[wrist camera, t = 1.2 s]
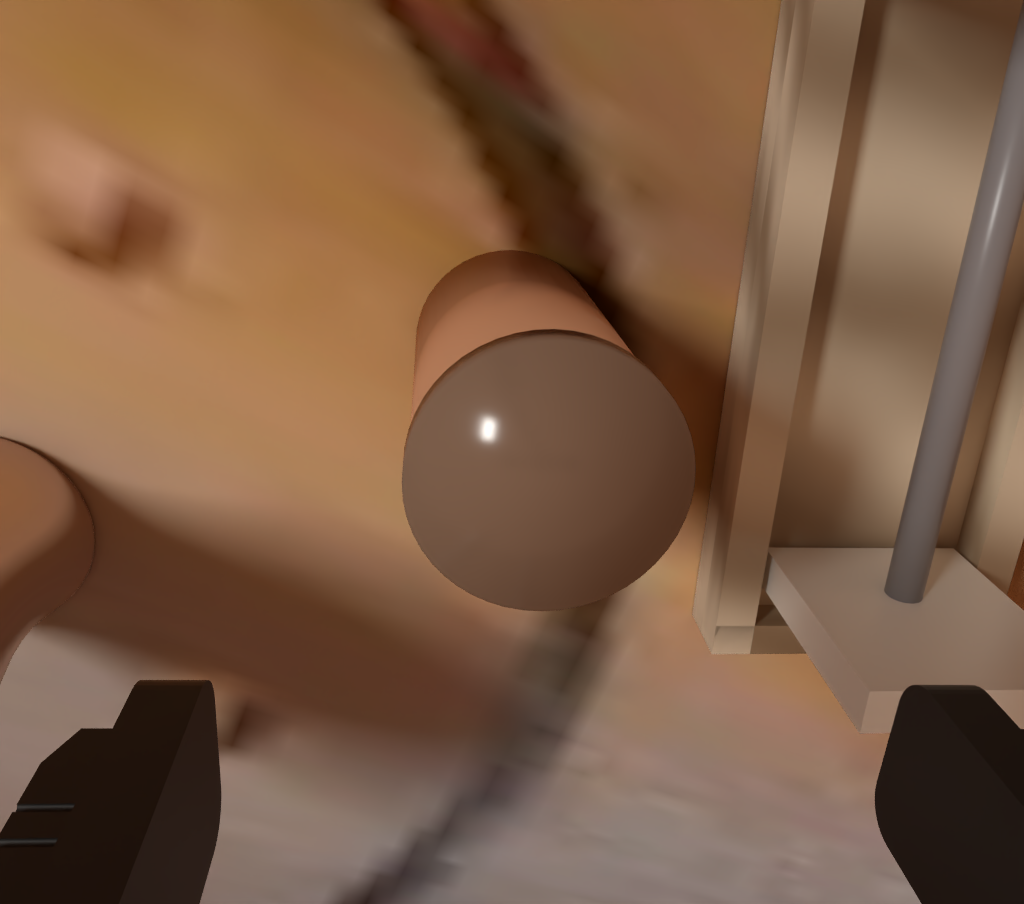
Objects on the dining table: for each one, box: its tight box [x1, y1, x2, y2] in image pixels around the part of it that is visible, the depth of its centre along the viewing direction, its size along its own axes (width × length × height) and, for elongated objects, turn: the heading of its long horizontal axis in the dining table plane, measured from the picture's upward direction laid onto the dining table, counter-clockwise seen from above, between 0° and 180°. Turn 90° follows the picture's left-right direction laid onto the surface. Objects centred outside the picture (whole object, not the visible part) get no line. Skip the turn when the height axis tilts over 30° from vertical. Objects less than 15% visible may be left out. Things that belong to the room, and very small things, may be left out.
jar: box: [402, 250, 696, 611], centre depth 21 cm, size 5×5×10 cm
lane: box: [692, 0, 1024, 654], centre depth 21 cm, size 22×9×10 cm, turn 177°
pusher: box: [762, 0, 1024, 734], centre depth 21 cm, size 19×6×7 cm, turn 177°
